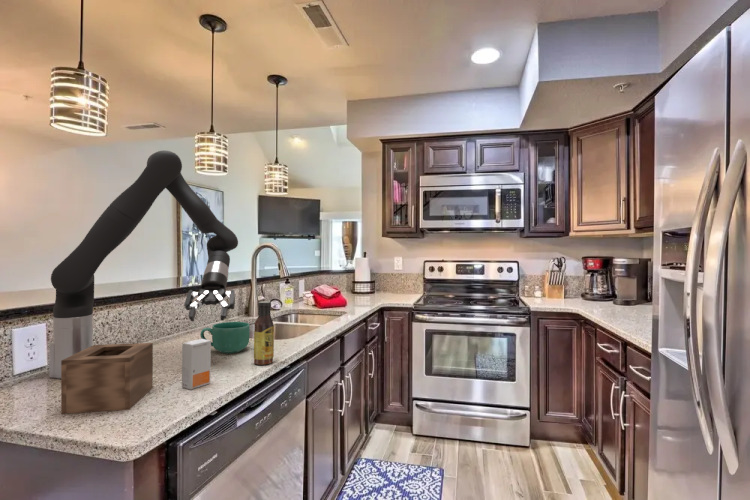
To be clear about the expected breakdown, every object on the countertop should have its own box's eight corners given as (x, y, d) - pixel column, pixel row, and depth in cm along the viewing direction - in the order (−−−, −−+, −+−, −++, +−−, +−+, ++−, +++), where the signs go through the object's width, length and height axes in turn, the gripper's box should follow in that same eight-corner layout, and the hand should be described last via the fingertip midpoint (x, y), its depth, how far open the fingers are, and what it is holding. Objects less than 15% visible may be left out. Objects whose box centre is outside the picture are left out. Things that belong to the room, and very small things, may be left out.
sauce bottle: (268, 366, 123) (268, 303, 122) (249, 365, 124) (250, 303, 124) (277, 360, 129) (277, 300, 129) (260, 359, 130) (260, 300, 130)
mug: (252, 346, 148) (252, 321, 148) (246, 355, 135) (246, 328, 135) (206, 347, 145) (206, 322, 145) (195, 356, 133) (195, 329, 133)
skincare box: (190, 390, 102) (190, 344, 102) (181, 387, 104) (181, 342, 104) (211, 383, 107) (211, 340, 107) (201, 380, 109) (202, 338, 109)
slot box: (61, 413, 87) (61, 360, 87) (94, 390, 101) (94, 344, 101) (129, 409, 90) (129, 357, 90) (152, 387, 104) (152, 342, 104)
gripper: (190, 270, 124) (178, 312, 113) (236, 270, 127) (230, 311, 116) (194, 285, 129) (184, 327, 118) (239, 285, 132) (233, 325, 121)
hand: (207, 319), depth 117 cm, fingers open, 8 cm apart
